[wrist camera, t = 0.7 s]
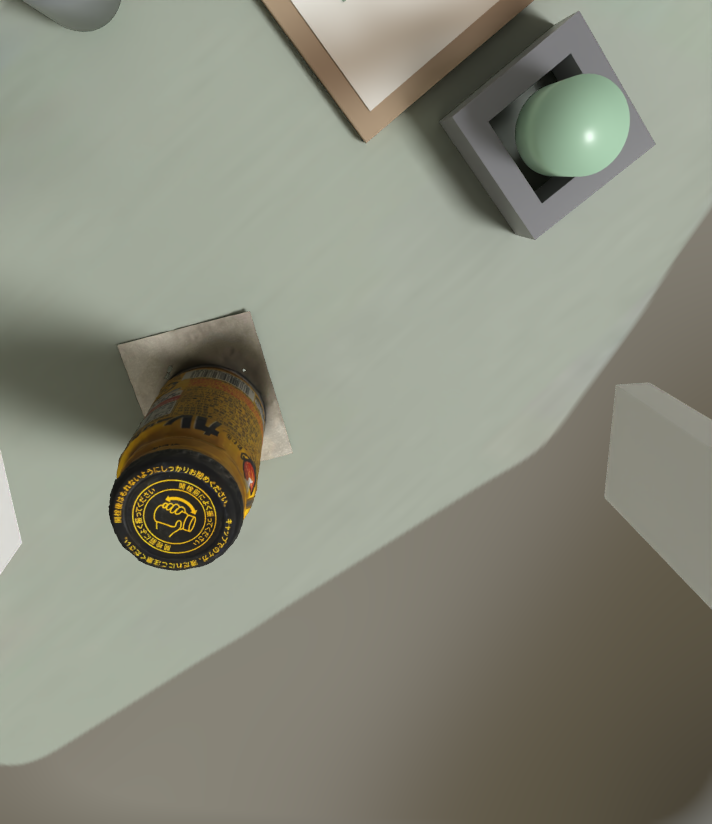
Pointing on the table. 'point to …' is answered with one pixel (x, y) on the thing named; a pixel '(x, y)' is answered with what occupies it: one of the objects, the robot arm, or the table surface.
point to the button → (573, 126)
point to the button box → (490, 161)
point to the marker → (78, 12)
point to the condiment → (195, 442)
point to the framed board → (386, 47)
